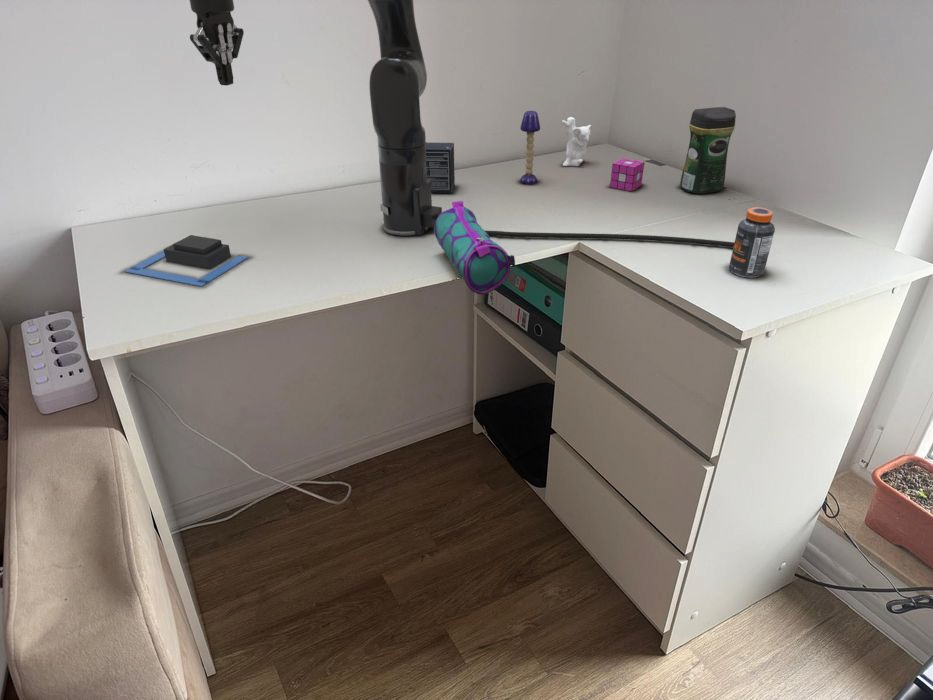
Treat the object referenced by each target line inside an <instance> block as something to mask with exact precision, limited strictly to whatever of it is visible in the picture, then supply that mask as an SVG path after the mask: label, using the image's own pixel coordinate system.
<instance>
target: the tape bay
mask: <svg viewBox="0 0 933 700" xmlns="http://www.w3.org/2000/svg"><path fill="white" fill-rule="evenodd" d="M164 258H166V257H165V254H164V250H162V251H160V252H159V253H157V254H154V255H153V256H151V257H149V258H147V259H145V260H143V261H141V262H140V263H137V264H136V265H134V266H132V267H129V268H128V269H126V270H124V273H128V274H131V275H132V274H133V275H138V276H144V277H148V278H155V279H159V280H165V281H168V282H169V281H170V282H175V283H179V284H180V283H181V284H184V285H185V284H186V285H191V286H195V287H196V286H197V287H204V286H205V285H207V284H208V283H210V282H211V281H213V280H215V279H217V278H218V277H219V276H221V275H223V274H224V273H226V272H228V271H229V270H231V269H233V268H234V267H236V266H237V265H239V264H240V263H243V262H244V261H245V260H247V259H248V258H249V256H245V255H238V256H236V257H234V258H232V259H231V260H229V261H228V262H225V263H224V264H222V265H221V266H219V267H217V268H216V269H214V270H212V271H211V272H210V273H208V274H206V275H204V276H202V277H201V278H195V277H190V276H185V275H179V274H174V273H168V272H164V271H158V270H153V269H147V267H149V266H151V265H153V264H154V263H156V262H158V261H160V260H162V259H164Z"/></svg>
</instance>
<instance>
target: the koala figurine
mask: <svg viewBox="0 0 933 700" xmlns="http://www.w3.org/2000/svg"><path fill="white" fill-rule="evenodd" d="M561 122H562V124H563V125H564V126H565V127H566V129H565V136H566V138H567V139H568V140H567V141H568V142H567V143H566V152H565V156H566V159H565V160H564V162H563V163H562V166H563V167H569V166H571V167H579V166H580V165H581V164H582V163H583V159H582V158H583V157H584V156H585V155H586V154H587V152H588V150H587V146H588V141H590V136H591V132H592V128H593V126H592V124H588V125H586V126H585V125H583V126H579V127H578V126H576V118H575V117H572V116H569V117H567V119H566V120H565V119H562V120H561Z"/></svg>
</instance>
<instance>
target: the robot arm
mask: <svg viewBox="0 0 933 700" xmlns="http://www.w3.org/2000/svg"><path fill="white" fill-rule="evenodd" d="M367 3H368V5H369V7H370V10H371V12H372V14H373V15H372V16H373V18H374V20H375V21H374V22H375V24H376V25H375V26H376V28H377V29H376V30H377V35H378V43H379V53H380V59H378V60H377V61H376V63H374V65H373V66H372V68H371V71H370V73H369V80H368V82H369V83H368V85H369V87H368V89H369V100H370V109H371V118H372V124H373V130H374V132H375V135H376V138H377V139H376V140H377V151H378V164H379V177H380V180H379V181H380V191H381V194H380V195H381V203H379V207H380V209H379V210H380V211H381V212H382V221H383V223H382V225H383V230H384V231H385V232H386V233H387V234H390V235H394V236H402V237H404V236H406V237H407V236H408V237H409V236H422V235H423V234H424V233H426V232H427V231H428V230H429V229H431V228H434V226H435V222H436V220H437V218H438V217H439V215H440V214H441V213H442V212H443V207H442V206H435V205H433V204H432V202H433V200H432V193H431V181H430V180H427V168H426V142H427V140H426V139H427V136H426V129H425V128H424V126H423V124H422V119H421V103H420V101H421V100H420V97H422V96H423V94H424V92H425V90H426V87H427V81H428V74H427V73H428V72H427V68H426V63H425V59H424V55H423V54H424V53H423V50H422V47H421V42H420V37H419V33H418V28H417V23H416V17H415V6H414V5H415V4H414V0H367ZM189 4H190V10H191V11H192V12H193V13H195V15H196V27H197V30H196V31H195V34H194V33H191V34H189V40H190V42H191V43H192V44H193V45H194V47H195V48H196V50H197V51H198V52H199V54H200V55H201V56H202V58H203V59H204V60H205V61H206V62H210V63H212V64H213V65H215V66H214V67H215V71H216V76H217V81H218V83H219V84H220V85H221V86H231V85H233V84H234V74H233V73H234V72H233V67H232V63H233V60H234V59H237V58H238V57H239V53H240V49H241V46H242V42H243V37H244V33H245V32H244V29H243V28H240V27H237V26H236V25H235V22H234V21H235V20H234V18H233V16H232V13H231V12H234V10H235V3H234V0H189ZM484 231H485V232H486V233H487V234H488V236H489V237H490V236H493V237H494V236H495V237H508V238H511V237H512V238H540V239H541V238H542V239H543V238H544V239H589V240H590V239H592V240H593V239H594V240H595V239H596V240H597V239H598V240H628V241H629V240H630V241H631V240H632V241H651V242H652V241H653V242H669V243H681V244H682V243H683V244H695V245H706V246H716V247H726V248H733V247H734V243H735V241H725V240H716V239H715V240H714V239H704V238H694V237H681V236H680V237H679V236H668V235H667V236H665V235H650V234H649V235H648V234H647V235H646V234H625V233H623V234H622V233H587V232H586V233H585V232H584V233H581V232H577V233H575V232H534V231H533V232H531V231H530V232H527V231H526V232H525V231H524V232H523V231H503V230H484Z"/></svg>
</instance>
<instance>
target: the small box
mask: <svg viewBox="0 0 933 700" xmlns="http://www.w3.org/2000/svg"><path fill="white" fill-rule="evenodd" d="M426 168H427V180H430V181H431V194H453V192H454V189H455V185H456V182H455V181H456V180H455V142H430V141H429V142H428V141H426Z"/></svg>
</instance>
